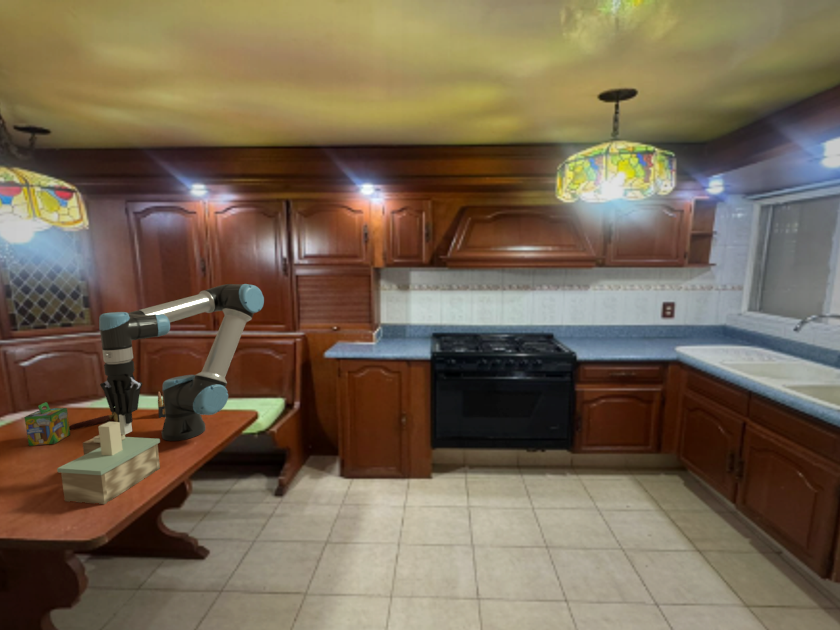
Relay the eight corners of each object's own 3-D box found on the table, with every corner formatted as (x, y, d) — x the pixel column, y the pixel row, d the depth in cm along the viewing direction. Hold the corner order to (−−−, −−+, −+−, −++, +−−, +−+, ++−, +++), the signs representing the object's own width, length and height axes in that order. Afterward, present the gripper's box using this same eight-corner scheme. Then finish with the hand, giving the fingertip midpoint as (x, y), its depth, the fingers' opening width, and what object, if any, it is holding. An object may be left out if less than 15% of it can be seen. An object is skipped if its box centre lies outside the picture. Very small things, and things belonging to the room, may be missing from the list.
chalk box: (54, 444, 151) (50, 407, 150) (27, 446, 150) (22, 408, 148) (71, 434, 160) (67, 399, 159) (45, 436, 159) (41, 400, 157)
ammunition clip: (185, 411, 185) (183, 386, 183) (186, 412, 184) (184, 387, 182) (158, 417, 178) (156, 391, 176) (159, 418, 177) (156, 392, 175)
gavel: (62, 428, 160) (62, 421, 167) (64, 438, 161) (64, 431, 168) (126, 411, 174) (123, 405, 181) (128, 421, 174) (125, 415, 182)
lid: (122, 443, 133) (119, 410, 132) (160, 445, 131) (157, 412, 130) (58, 475, 113) (53, 437, 111) (101, 478, 111) (97, 440, 109)
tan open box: (100, 464, 135) (96, 436, 134) (159, 468, 132) (157, 439, 131) (36, 498, 116) (31, 465, 114) (104, 504, 112) (100, 470, 111)
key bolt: (103, 437, 132) (102, 421, 131) (125, 438, 131) (123, 422, 130) (93, 442, 129) (92, 425, 128) (115, 443, 128) (114, 426, 127)
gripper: (89, 363, 123) (98, 436, 126) (127, 364, 121) (135, 438, 124) (111, 358, 130) (118, 427, 133) (147, 358, 129) (154, 428, 131)
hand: (126, 432), depth 129 cm, fingers closed
